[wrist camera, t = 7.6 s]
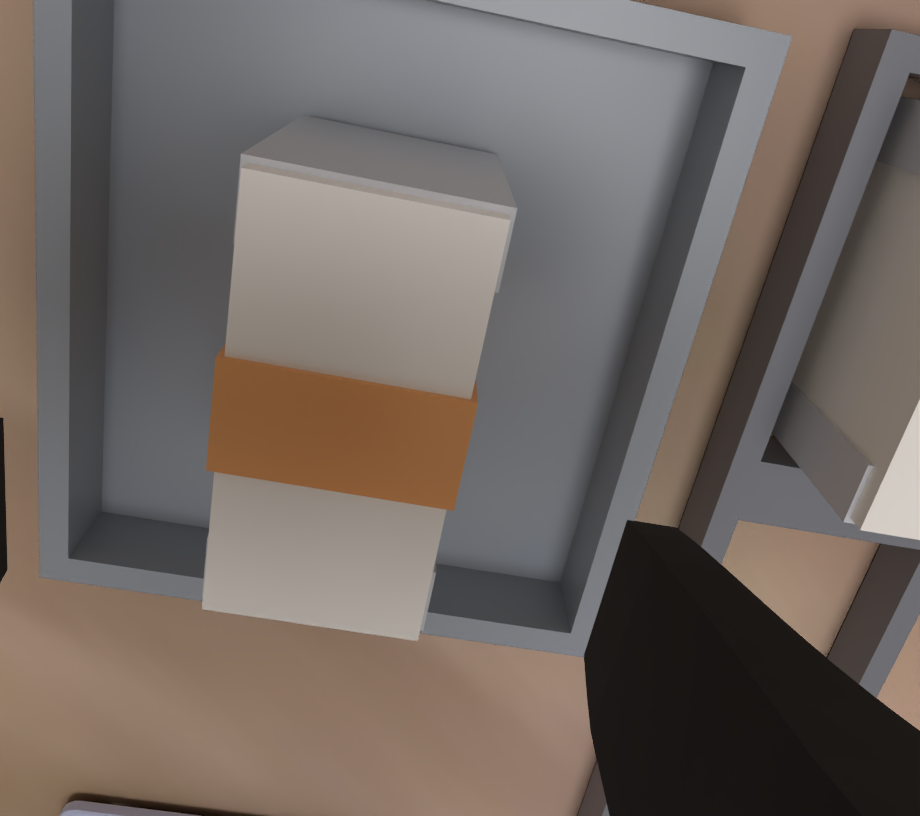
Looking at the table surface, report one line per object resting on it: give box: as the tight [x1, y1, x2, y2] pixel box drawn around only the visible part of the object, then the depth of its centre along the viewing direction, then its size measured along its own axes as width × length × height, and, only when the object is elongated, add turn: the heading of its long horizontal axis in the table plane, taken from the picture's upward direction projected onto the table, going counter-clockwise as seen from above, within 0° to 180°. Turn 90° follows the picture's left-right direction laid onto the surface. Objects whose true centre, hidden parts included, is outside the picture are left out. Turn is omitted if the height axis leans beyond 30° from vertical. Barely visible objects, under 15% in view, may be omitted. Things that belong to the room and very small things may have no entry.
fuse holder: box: [578, 29, 920, 816], centre depth 21 cm, size 6×28×2 cm, turn 169°
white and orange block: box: [202, 115, 517, 641], centre depth 15 cm, size 4×7×6 cm, turn 169°
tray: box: [33, 0, 792, 657], centre depth 17 cm, size 12×13×2 cm
